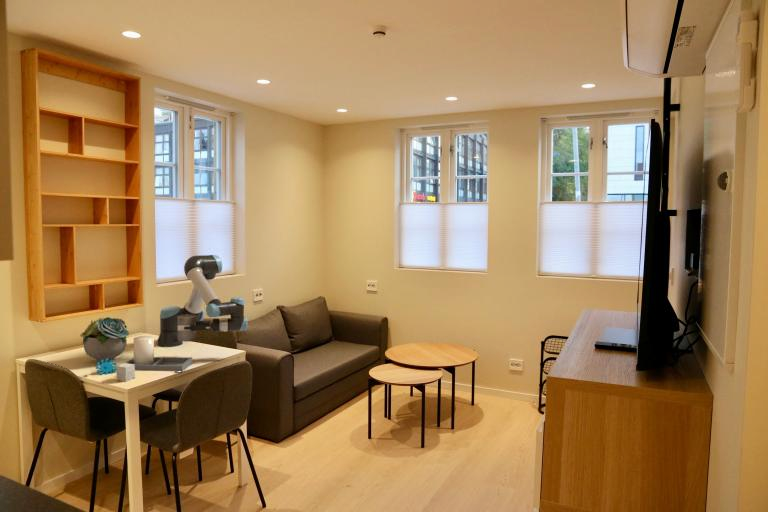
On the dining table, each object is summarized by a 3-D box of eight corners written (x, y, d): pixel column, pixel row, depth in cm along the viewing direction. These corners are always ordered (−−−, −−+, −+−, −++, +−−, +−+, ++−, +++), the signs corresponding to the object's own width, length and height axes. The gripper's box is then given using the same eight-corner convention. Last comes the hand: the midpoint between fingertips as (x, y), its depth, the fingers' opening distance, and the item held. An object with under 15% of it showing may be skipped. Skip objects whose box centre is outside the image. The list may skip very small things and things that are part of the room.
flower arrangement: (131, 353, 310) (131, 312, 308) (128, 365, 287) (127, 321, 285) (83, 356, 301) (83, 314, 299) (75, 368, 278) (75, 323, 276)
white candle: (138, 362, 289) (138, 335, 288) (156, 363, 289) (156, 336, 288) (130, 368, 279) (130, 340, 278) (149, 368, 279) (149, 340, 278)
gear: (95, 375, 263) (96, 357, 269) (93, 380, 267) (94, 363, 273) (119, 375, 269) (120, 358, 275) (117, 381, 273) (118, 364, 279)
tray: (135, 363, 292) (135, 356, 291) (191, 363, 293) (191, 357, 293) (122, 371, 276) (122, 364, 275) (182, 372, 277) (182, 365, 277)
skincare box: (135, 378, 265) (135, 364, 264) (125, 382, 259) (125, 367, 259) (125, 377, 267) (125, 362, 266) (116, 380, 261) (115, 365, 261)
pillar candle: (192, 337, 307) (192, 311, 306) (198, 340, 299) (198, 314, 298) (175, 339, 301) (174, 313, 299) (181, 342, 293) (180, 316, 292)
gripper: (219, 335, 295) (177, 337, 288) (219, 327, 316) (179, 328, 309) (220, 322, 294) (177, 323, 287) (219, 314, 315) (179, 315, 308)
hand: (178, 326), depth 298 cm, fingers closed on pillar candle, 9 cm apart
